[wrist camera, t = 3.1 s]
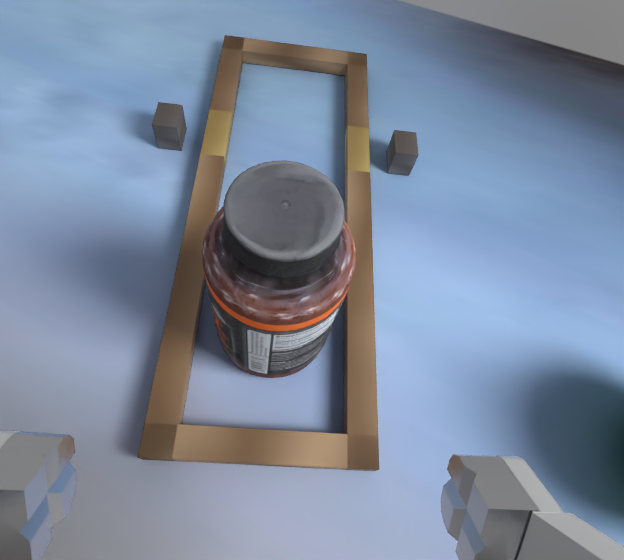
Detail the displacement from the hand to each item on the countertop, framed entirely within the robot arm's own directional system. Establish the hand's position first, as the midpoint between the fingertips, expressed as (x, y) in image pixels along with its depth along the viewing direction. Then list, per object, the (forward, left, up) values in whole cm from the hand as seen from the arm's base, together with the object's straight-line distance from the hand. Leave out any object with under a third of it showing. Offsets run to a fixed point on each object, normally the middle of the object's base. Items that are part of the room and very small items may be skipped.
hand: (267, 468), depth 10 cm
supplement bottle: (0, -8, -13) cm, 15 cm away
